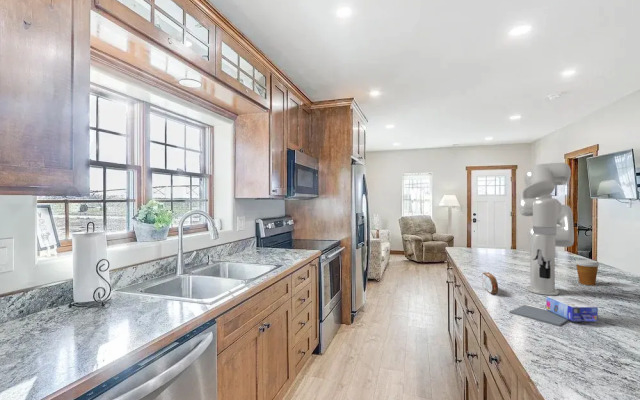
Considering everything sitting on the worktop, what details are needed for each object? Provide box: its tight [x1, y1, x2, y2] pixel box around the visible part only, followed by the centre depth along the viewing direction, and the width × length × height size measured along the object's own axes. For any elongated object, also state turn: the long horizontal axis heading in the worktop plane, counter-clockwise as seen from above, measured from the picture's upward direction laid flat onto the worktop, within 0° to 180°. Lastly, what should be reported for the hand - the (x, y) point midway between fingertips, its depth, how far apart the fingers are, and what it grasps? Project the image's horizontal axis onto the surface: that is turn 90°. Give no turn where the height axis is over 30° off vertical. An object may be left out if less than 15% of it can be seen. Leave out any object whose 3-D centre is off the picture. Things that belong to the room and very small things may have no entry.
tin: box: [481, 271, 499, 295], centre depth 149 cm, size 15×3×8 cm, turn 168°
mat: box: [509, 304, 570, 327], centre depth 117 cm, size 14×16×1 cm
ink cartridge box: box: [545, 296, 599, 322], centre depth 114 cm, size 10×6×14 cm
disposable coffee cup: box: [574, 259, 600, 286], centre depth 161 cm, size 10×10×12 cm
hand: (544, 277), depth 120 cm, fingers closed
